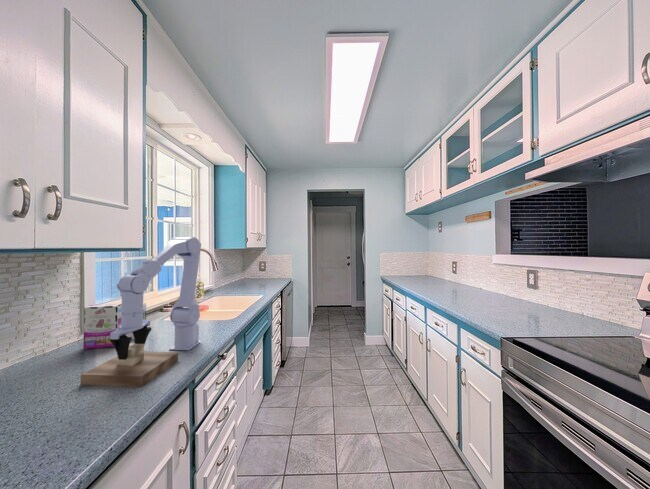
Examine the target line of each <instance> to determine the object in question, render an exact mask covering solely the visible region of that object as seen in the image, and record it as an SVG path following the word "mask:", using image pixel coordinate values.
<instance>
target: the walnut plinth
mask: <svg viewBox="0 0 650 489" xmlns="http://www.w3.org/2000/svg"><path fill="white" fill-rule="evenodd" d="M178 361H179V352H178V351H177V352H176V351H151V350H150V351H148V350H147V351H145V350H144V359H143V360H141V361H140V362H138V363H136V364H134V365H133V366H126V365H117V356H115V357H113V358H111V359H109V360H107V361H106V362H103V363H100V364H99V365H97V366H95V367H93V368H91V369H89V370H87V371H85V372H83V373H81V374H80V386H102V387H106V386H107V387H129V388H130V387H132V388H133V387H134V388H141V387H143V386H145V385H146V384H148V383H149V382H150V381H152V380H153V379H155V378H156V377H157V376H159V375H160V374H161V373H163V372H164V371H166V370H167V369H168V368H170V367H171V366H172V365H174V364H175V363H177V362H178Z"/></svg>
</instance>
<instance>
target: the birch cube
mask: <svg viewBox="0 0 650 489" xmlns="http://www.w3.org/2000/svg"><path fill="white" fill-rule="evenodd" d="M144 351H145V345H144V344H135V343H130V344H129V348H128V356H127V359H125V360H120V359H119V358H118V354H117V353H116V357H117V365H126V366H133V365H134V364H136V363H138V362H140V361H141V360H143V359H144Z"/></svg>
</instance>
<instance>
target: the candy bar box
mask: <svg viewBox="0 0 650 489" xmlns="http://www.w3.org/2000/svg"><path fill="white" fill-rule="evenodd" d="M121 307H122V303H112V304H111V303H109V304H93V305H88V306H85V307H84V308H83V350H97V349H98V350H99V349H108V348H115V347H114V345H113V344H112V343H111V341H110V334H111V332H114V331H115V330H117V329H118V326H120V325H121Z"/></svg>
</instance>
